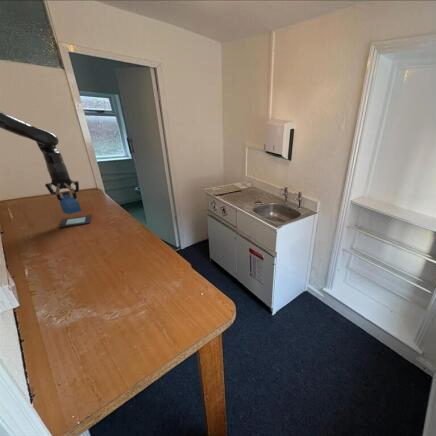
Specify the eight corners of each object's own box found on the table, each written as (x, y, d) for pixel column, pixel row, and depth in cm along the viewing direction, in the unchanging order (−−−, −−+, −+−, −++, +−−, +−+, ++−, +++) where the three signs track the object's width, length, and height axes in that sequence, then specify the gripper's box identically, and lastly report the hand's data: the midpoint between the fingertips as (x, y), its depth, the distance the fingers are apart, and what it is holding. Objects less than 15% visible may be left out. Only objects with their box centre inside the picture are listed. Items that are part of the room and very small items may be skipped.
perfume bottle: (68, 214, 133) (61, 194, 128) (63, 212, 135) (55, 192, 130) (81, 211, 138) (75, 191, 133) (76, 208, 140) (69, 189, 136)
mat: (59, 228, 131) (59, 227, 131) (63, 220, 141) (62, 219, 140) (89, 223, 138) (89, 222, 138) (90, 216, 148) (90, 215, 147)
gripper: (75, 168, 134) (84, 196, 140) (41, 170, 126) (52, 199, 132) (74, 170, 128) (83, 199, 135) (37, 173, 120) (49, 203, 127)
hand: (68, 199), depth 134 cm, fingers closed on perfume bottle, 5 cm apart
